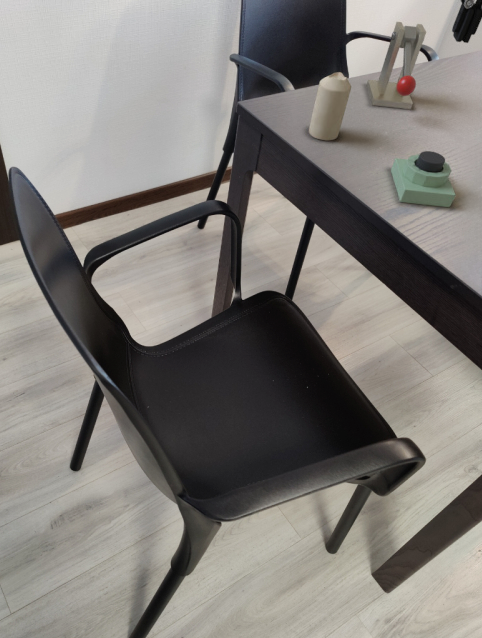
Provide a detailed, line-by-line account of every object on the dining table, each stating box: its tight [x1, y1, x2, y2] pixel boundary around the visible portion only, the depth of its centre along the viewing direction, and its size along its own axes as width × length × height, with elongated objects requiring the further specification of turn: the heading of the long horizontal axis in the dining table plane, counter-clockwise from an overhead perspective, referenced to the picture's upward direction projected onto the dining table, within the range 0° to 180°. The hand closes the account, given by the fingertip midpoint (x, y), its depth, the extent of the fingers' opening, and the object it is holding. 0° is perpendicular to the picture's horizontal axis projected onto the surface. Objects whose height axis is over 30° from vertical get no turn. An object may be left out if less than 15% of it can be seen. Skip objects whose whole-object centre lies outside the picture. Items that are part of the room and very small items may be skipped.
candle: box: [308, 71, 352, 141], centre depth 90 cm, size 6×6×10 cm
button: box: [416, 150, 446, 173], centre depth 80 cm, size 4×4×2 cm
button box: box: [390, 153, 456, 208], centre depth 82 cm, size 8×10×4 cm
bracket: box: [366, 21, 427, 110], centre depth 101 cm, size 10×8×13 cm
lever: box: [396, 25, 417, 96], centre depth 96 cm, size 14×3×3 cm, turn 175°
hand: (460, 38), depth 74 cm, fingers closed
